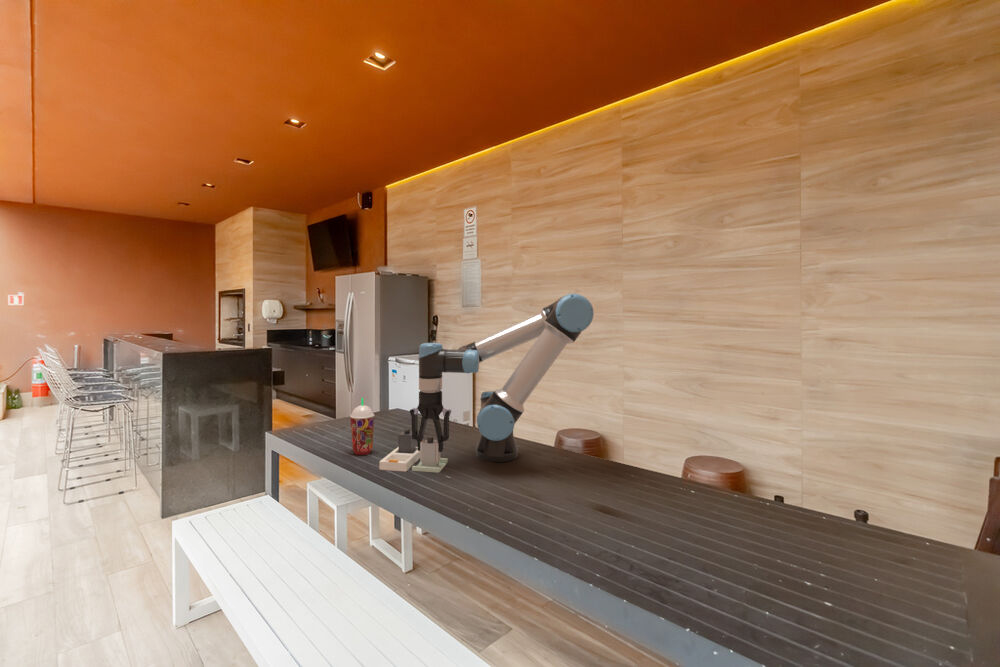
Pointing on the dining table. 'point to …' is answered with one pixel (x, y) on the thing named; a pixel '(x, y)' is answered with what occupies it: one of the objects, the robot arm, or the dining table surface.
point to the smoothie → (362, 429)
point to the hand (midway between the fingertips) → (430, 460)
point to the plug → (429, 453)
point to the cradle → (431, 469)
